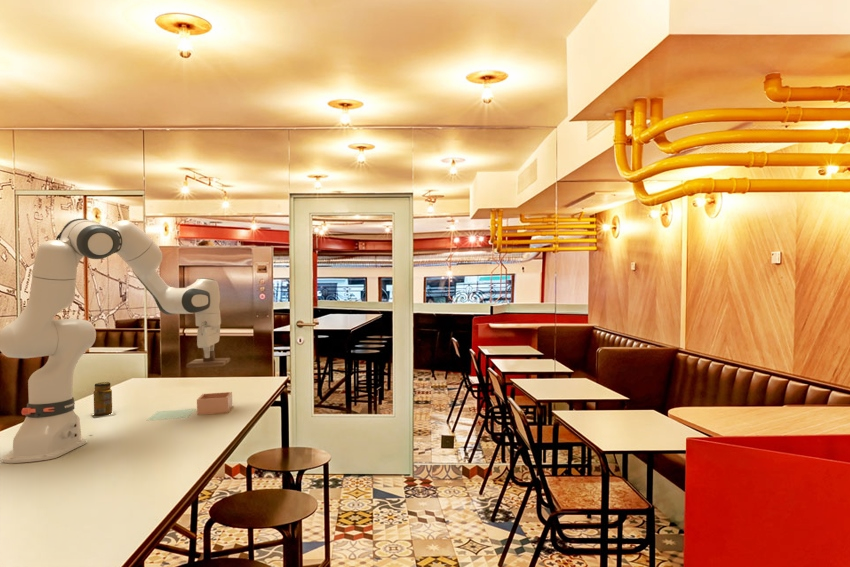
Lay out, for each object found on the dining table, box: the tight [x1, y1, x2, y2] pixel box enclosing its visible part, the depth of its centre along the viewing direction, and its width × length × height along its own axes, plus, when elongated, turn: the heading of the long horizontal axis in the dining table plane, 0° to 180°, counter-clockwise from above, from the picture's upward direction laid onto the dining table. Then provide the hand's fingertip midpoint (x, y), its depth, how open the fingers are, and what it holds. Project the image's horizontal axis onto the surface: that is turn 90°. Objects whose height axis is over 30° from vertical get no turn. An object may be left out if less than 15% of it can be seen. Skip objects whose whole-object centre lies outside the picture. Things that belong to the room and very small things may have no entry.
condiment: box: [90, 381, 116, 418], centre depth 203 cm, size 7×8×12 cm
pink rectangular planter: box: [196, 391, 233, 416], centre depth 204 cm, size 11×11×6 cm
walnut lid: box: [186, 350, 231, 369], centre depth 202 cm, size 13×13×5 cm
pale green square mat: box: [146, 408, 196, 422], centre depth 199 cm, size 14×14×1 cm
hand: (209, 357), depth 202 cm, fingers closed on walnut lid, 3 cm apart
